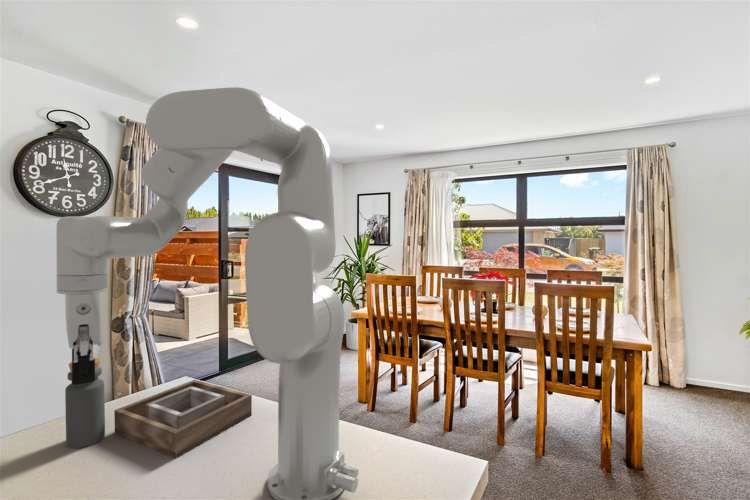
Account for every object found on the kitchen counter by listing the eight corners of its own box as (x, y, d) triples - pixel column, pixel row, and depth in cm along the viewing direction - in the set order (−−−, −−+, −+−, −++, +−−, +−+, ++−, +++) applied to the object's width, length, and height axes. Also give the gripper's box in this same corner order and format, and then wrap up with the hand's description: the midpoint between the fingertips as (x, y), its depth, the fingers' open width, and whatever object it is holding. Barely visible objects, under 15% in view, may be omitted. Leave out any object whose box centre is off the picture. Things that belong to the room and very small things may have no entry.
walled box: (251, 415, 83) (251, 392, 83) (175, 458, 67) (175, 430, 67) (194, 398, 91) (194, 377, 91) (114, 432, 75) (114, 407, 75)
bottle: (112, 433, 75) (111, 357, 75) (87, 449, 69) (85, 367, 69) (85, 431, 76) (83, 355, 75) (57, 447, 70) (55, 366, 69)
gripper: (111, 288, 67) (110, 385, 68) (104, 277, 80) (104, 357, 81) (55, 291, 62) (55, 395, 63) (57, 278, 76) (58, 364, 77)
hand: (82, 374), depth 72 cm, fingers open, 9 cm apart
